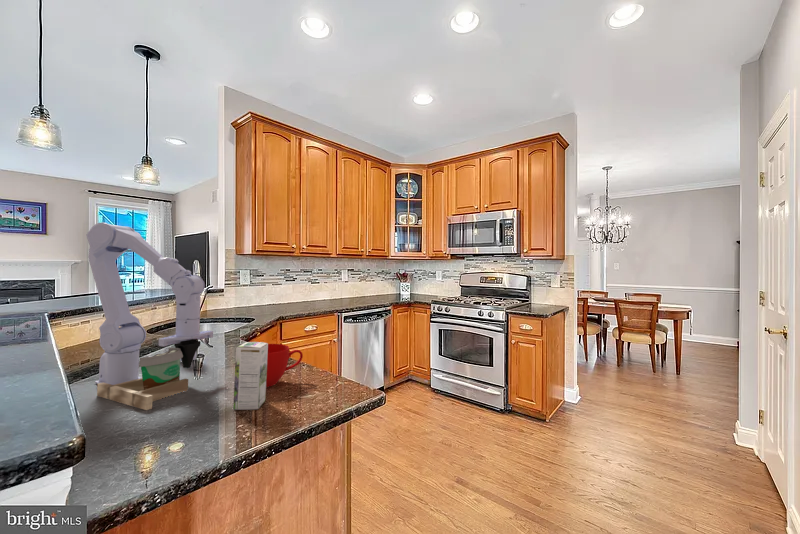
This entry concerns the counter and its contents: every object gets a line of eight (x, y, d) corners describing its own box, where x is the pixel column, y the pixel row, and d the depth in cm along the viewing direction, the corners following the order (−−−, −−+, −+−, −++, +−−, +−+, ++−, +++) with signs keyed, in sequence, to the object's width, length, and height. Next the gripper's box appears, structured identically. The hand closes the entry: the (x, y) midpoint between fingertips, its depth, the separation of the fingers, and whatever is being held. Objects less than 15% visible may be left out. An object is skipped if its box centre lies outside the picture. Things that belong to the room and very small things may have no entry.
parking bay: (97, 395, 88) (97, 383, 88) (150, 381, 99) (151, 371, 99) (146, 410, 80) (147, 396, 80) (199, 393, 91) (199, 381, 91)
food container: (166, 397, 86) (164, 356, 86) (140, 399, 86) (138, 358, 86) (194, 382, 98) (192, 346, 99) (171, 383, 98) (169, 347, 98)
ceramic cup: (306, 386, 99) (307, 350, 99) (239, 394, 91) (241, 355, 91) (298, 373, 110) (298, 341, 110) (238, 379, 103) (239, 345, 103)
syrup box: (241, 401, 86) (243, 341, 87) (266, 401, 87) (268, 341, 87) (232, 410, 81) (234, 346, 81) (259, 410, 81) (261, 346, 81)
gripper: (171, 323, 90) (170, 376, 90) (220, 316, 104) (219, 363, 103) (154, 321, 93) (152, 372, 93) (204, 315, 106) (203, 360, 106)
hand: (186, 367), depth 98 cm, fingers closed
